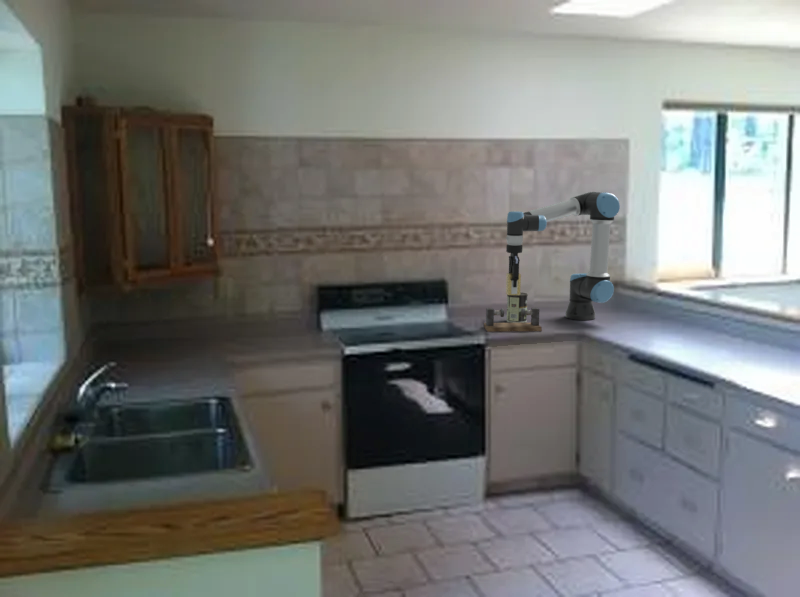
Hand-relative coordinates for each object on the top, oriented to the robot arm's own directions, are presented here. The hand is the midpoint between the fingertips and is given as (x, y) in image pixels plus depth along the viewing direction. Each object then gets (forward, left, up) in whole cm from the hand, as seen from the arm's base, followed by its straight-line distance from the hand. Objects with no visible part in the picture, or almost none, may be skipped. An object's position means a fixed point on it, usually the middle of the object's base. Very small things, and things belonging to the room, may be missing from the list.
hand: (513, 292), depth 382 cm
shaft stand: (0, 0, -18) cm, 18 cm away
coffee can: (-6, -19, -18) cm, 27 cm away
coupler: (0, 0, -1) cm, 1 cm away
